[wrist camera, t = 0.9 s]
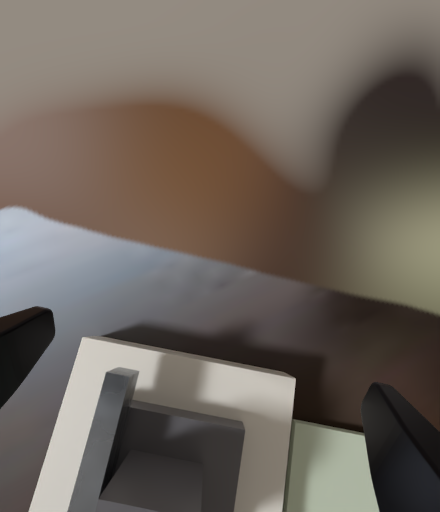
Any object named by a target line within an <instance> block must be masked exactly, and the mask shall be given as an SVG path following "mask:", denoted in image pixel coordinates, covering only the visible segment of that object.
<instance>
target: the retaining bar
mask: <svg viewBox="0 0 440 512" xmlns="http://www.w3.org/2000/svg"><path fill="white" fill-rule="evenodd" d="M138 375H139V371H137V370H132V369H127V368H122V367H117V368H115V369H112V370H110V371H107V372H106V374H105V378H104V381H103V385H102V388H101V392H100V396H99V399H98V403H97V406H96V410H95V414H94V417H93V421H92V424H91V428H90V432H89V435H88V439H87V442H86V446H85V450H84V453H83V457H82V460H81V464H80V468H79V471H78V475H77V479H76V482H75V486H74V489H73V493H72V497H71V500H70V504H69V507H68V511H67V512H95V510H96V506H97V502H98V499H99V497H100V496H101V494H102V493H103V491H104V490H105V488H106V487H107V485H108V484H109V482H110V481H111V479H112V478H113V476H114V472H115V468H116V464H117V460H118V456H119V452H120V448H121V444H122V439H123V435H124V431H125V427H126V423H127V419H128V415H129V411H130V407H131V403H132V399H133V395H134V391H135V387H136V383H137V379H138Z"/></svg>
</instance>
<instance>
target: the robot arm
mask: <svg viewBox="0 0 440 512" xmlns="http://www.w3.org/2000/svg"><path fill="white" fill-rule="evenodd" d="M54 336H55V325H54V318H53V312H52V311H51V310H50V309H48V308H44V307H39V306H35V307H32V308H29V309H25V310H22V311H19V312H16V313H13V314H10V315H7V316H3V317H0V409H1V408H2V406H3V405H4V404H5V403H6V402H7V401H8V399H9V398H10V397H11V396H12V395H13V393H14V392H15V391H16V390H17V389H18V387H19V386H20V385H21V383H22V382H23V381H24V379H25V378H26V377H27V375H28V374H29V372H30V371H31V370H32V368H33V367H34V365H35V364H36V363H37V361H38V360H39V358H40V357H41V356H42V354H43V353H44V351H45V350H46V349H47V347H48V346H49V344H50V343H51V342H52V340H53V338H54ZM361 416H362V423H363V429H364V436H365V442H366V449H367V455H368V462H369V468H370V474H371V479H372V483H373V488H374V492H375V496H376V500H377V504H378V508H379V512H440V432H439V431H438V430H437V429H436V428H435V427H434V426H433V425H432V424H431V423H430V422H429V421H428V420H427V419H426V418H424V417H423V416H422V415H421V414H420V413H419V412H418V411H417V410H416V409H415V408H414V407H413V406H412V405H411V404H410V403H409V402H408V401H407V400H406V399H405V398H404V397H403V396H402V395H401V394H400V393H399V392H398V391H397V390H395V389H394V388H393V387H392V386H390V385H387V384H383V383H378V382H374V383H372V384H371V386H370V388H369V390H368V392H367V394H366V395H365V397H364V399H363V401H362V404H361Z"/></svg>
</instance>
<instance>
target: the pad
mask: <svg viewBox="0 0 440 512" xmlns="http://www.w3.org/2000/svg"><path fill="white" fill-rule="evenodd" d="M283 512H379V508H378V504H377V500H376V496H375V492H374V488H373V483H372V479H371V474H370V468H369V462H368V455H367V449H366V442H365V436H364V433H361V432H356V431H351V430H346V429H341V428H336V427H331V426H326V425H321V424H316V423H311V422H306V421H301V420H295V419H292V426H291V436H290V446H289V455H288V465H287V475H286V484H285V494H284V504H283Z"/></svg>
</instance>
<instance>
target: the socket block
mask: <svg viewBox="0 0 440 512" xmlns="http://www.w3.org/2000/svg"><path fill="white" fill-rule="evenodd" d="M117 367H122V368H127V369H132V370H137V371H139V375H138V379H137V383H136V387H135V391H134V395H133V399H132V400H137V401H142V402H147V403H152V404H157V405H162V406H167V407H172V408H177V409H182V410H187V411H192V412H197V413H202V414H207V415H212V416H217V417H223V418H228V419H233V420H238V421H242V422H243V425H244V428H245V436H244V443H243V450H242V457H241V464H240V471H239V478H238V485H237V492H236V499H235V506H234V512H282V508H283V498H284V489H285V479H286V469H287V460H288V450H289V441H290V431H291V421H292V412H293V402H294V392H295V383H296V378H294V377H292V376H290V375H288V374H287V373H285V372H282V371H277V370H271V369H266V368H261V367H256V366H251V365H246V364H241V363H236V362H230V361H225V360H220V359H215V358H210V357H205V356H200V355H195V354H190V353H184V352H179V351H174V350H169V349H164V348H159V347H154V346H149V345H143V344H138V343H133V342H128V341H123V340H118V339H113V338H108V337H102V336H93V337H82V341H81V344H80V347H79V350H78V354H77V357H76V360H75V363H74V367H73V370H72V373H71V376H70V380H69V383H68V386H67V389H66V393H65V396H64V399H63V402H62V406H61V409H60V412H59V415H58V419H57V422H56V425H55V428H54V431H53V435H52V438H51V441H50V444H49V448H48V451H47V454H46V457H45V461H44V464H43V467H42V470H41V474H40V477H39V480H38V483H37V487H36V490H35V493H34V496H33V500H32V503H31V506H30V509H29V512H67V511H68V507H69V504H70V500H71V497H72V493H73V489H74V486H75V482H76V479H77V475H78V471H79V468H80V464H81V460H82V457H83V453H84V450H85V446H86V442H87V439H88V435H89V432H90V428H91V424H92V421H93V417H94V414H95V410H96V406H97V403H98V399H99V396H100V392H101V388H102V385H103V381H104V378H105V374H106V372H107V371H110V370H112V369H115V368H117Z"/></svg>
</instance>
